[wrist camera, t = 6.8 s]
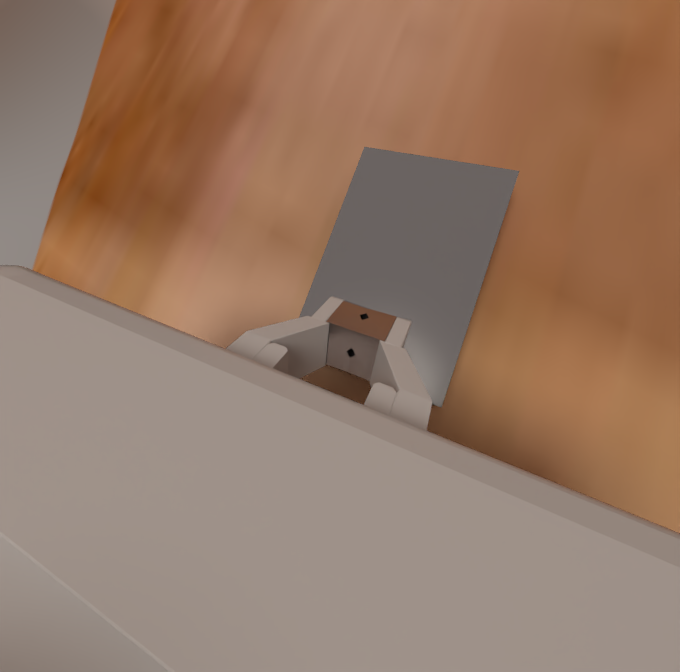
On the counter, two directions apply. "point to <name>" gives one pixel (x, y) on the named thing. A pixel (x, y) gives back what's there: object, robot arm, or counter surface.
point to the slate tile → (416, 250)
